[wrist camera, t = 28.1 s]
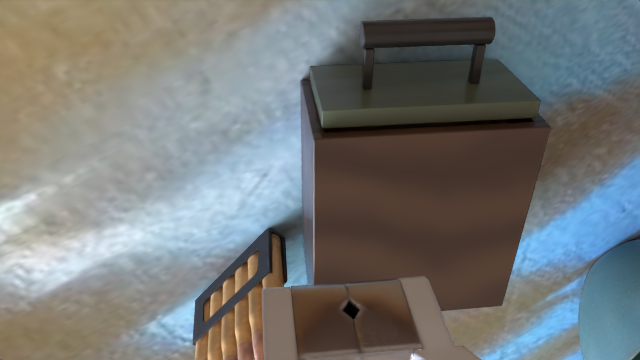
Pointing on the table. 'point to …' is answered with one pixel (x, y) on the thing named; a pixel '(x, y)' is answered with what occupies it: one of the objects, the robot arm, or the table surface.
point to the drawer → (420, 81)
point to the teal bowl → (612, 306)
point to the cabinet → (418, 203)
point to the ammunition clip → (239, 302)
